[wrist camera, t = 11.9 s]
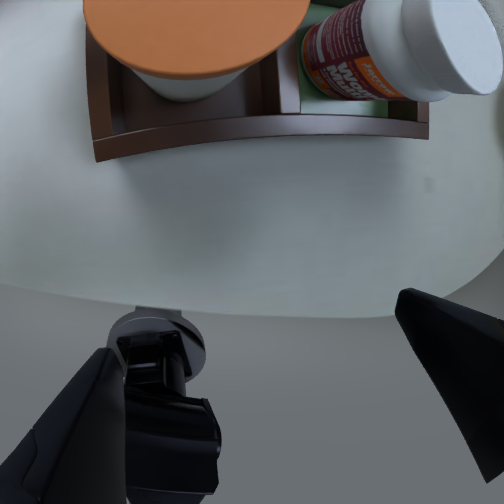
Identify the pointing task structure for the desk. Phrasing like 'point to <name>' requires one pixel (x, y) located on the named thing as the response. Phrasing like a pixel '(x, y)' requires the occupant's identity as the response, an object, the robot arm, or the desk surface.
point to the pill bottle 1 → (191, 39)
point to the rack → (235, 104)
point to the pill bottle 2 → (404, 51)
